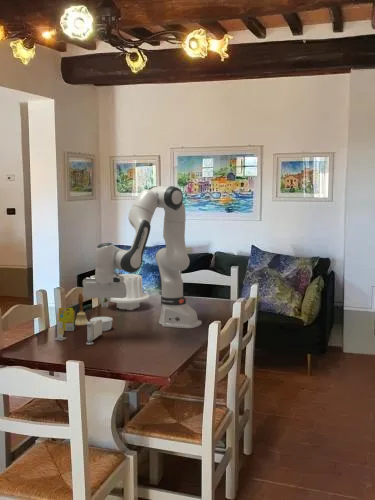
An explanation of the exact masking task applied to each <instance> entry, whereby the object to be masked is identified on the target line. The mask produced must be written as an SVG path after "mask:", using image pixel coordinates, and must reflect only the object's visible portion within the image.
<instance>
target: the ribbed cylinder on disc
mask: <svg viewBox="0 0 375 500" xmlns="http://www.w3.org/2000/svg"><path fill="white" fill-rule="evenodd" d="M119 275H120V276H123V277H124V281H123V282H124V283H125V285H126V292H127V295H126V297H125V298H111V299H110V301H109V302H112V303H116V309H117V308H119V309H118V310H125V309H126V311H127V310H128V311H132V310H135V309H138V308H140V307H141V306H140V305H141V304H140V303H142V302H145V301H149V300H150V297H151V295H150V294H148V293H144V292H143V276H141V275H140V274H137V273H123V274H119Z"/></svg>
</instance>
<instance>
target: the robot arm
mask: <svg viewBox="0 0 375 500" xmlns="http://www.w3.org/2000/svg"><path fill="white" fill-rule="evenodd" d="M185 206H186V205H185V204H184V195H183V192H182V190H181V189H180V188H179V187H177V186H174V185H171V186H170V185H159V186H157V185H154V186H150V187H149V188H148V189H143V190H142V191H140V192H139V194H138V195H137V197H136V198H135V200H134V202H133V204H132V206H131V209H130V210H129V212H128V221H129V224H130V225H131V227H133V228H134V230H135V235H134V238H133V241H132V244H131V247H130V249H128V250H126V249H123V248H119V247H117V246H116V245H114V243H112V242H103V243H100V244H98V245H97V246H96V249H95V254H94V263H95V264H94V265H95V271H94V273H95V274H94V275H95V276H94V277H85V278H83V280H82V287H83V288H82V296H83V298H88V299H90V298H92V299H93V298H98V300H99V302H100V304H101V308H108V307H109V303H110V302H111V301H110V299H111V298H125V297H126V295H127V292H126V285H125V283H124V282H123V281H124V277H123V276H120V275H121V274H116V273H115V269H116V270H120V271H123V272H126V273H128V274H135V273H136V272H137V271H139V270H140V268H141V267H142V266H143V265H142V264H143V257H144V253H145V248H146V246H147V243H148V239H149V236H150V232H151V223H152V218H153V216H154V214H155V213H156V212H155V211H156V210H157V209H158V208H161V209H163V210H164V218H163V230H162V231H163V232H162V233H163V234H162V236H163V241H164V243H165V247H162V248H159V250H158V251H157V252H156V254H155V261H156V263H157V265H158V270H159V274H160V280H161V281H160V282H161V297H160V306H161V309H160V310H161V311H160V316H159V321H158V324H159V325H161V326H162V327H165V328H180V329H194V328H198V327H200V326H201V325H202V323H203V322H202V320H201V319H198V314H197V312H196V310H195V309H194V308H192V307H191V306H190V305H189V304H188V303H187V301H188V297H185V295H184V280H183V279H182V276H181V272H183V271H185V270H187V269H188V268H189V266H190V260H191V259H190V257H189V255H188V252H187V248H186V238H185V234H186V233H185V232H186V207H185ZM104 298H105V299H106V300H107V301H106V302H104V301H103V299H104Z"/></svg>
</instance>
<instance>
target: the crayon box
mask: <svg viewBox="0 0 375 500" xmlns="http://www.w3.org/2000/svg"><path fill="white" fill-rule="evenodd" d="M75 311H76V310H74V308H73V307H59V308H58V322H63V328H64V332H66V331H67V332H74V331H75V330H76V325H75V320H76V314H75V313H76V312H75Z"/></svg>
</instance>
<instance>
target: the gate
mask: <svg viewBox="0 0 375 500" xmlns="http://www.w3.org/2000/svg"><path fill="white" fill-rule="evenodd" d="M87 325H92V341H94V340H95V339H97V338H98V337H99V336H102V334H103V331H102V319H98V320H97V321H95V322H94V321H90V320H89V322H86V325H85V326H87Z"/></svg>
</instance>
